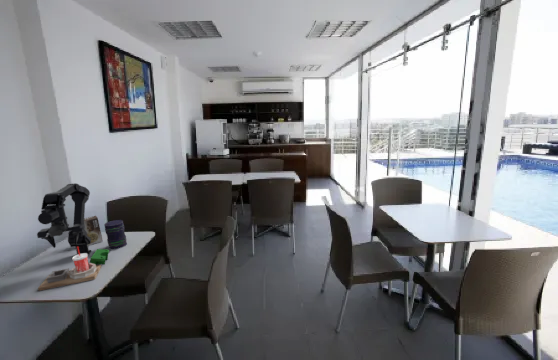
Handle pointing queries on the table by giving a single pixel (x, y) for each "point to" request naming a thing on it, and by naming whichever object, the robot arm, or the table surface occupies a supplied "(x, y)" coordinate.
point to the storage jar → (115, 234)
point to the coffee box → (93, 229)
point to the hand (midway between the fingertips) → (65, 245)
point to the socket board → (69, 277)
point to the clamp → (99, 256)
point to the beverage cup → (81, 262)
